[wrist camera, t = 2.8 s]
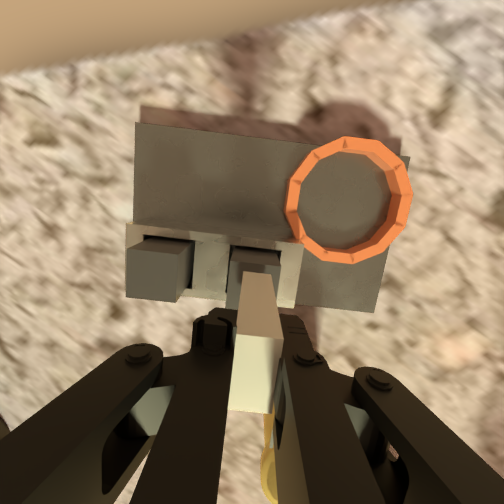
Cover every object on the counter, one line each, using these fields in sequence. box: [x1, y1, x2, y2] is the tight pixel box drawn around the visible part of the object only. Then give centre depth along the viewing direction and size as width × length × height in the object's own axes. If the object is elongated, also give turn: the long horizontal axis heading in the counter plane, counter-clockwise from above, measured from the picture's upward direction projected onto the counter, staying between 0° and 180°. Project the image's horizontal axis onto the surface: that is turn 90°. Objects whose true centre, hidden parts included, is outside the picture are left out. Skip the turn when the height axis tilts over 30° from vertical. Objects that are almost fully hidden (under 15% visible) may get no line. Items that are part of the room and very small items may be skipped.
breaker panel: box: [125, 122, 410, 313], centre depth 21 cm, size 21×13×5 cm, turn 83°
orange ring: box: [284, 136, 413, 264], centre depth 21 cm, size 9×9×2 cm
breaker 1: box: [126, 236, 195, 303], centre depth 18 cm, size 3×3×4 cm
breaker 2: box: [225, 245, 281, 310], centre depth 18 cm, size 3×3×4 cm
